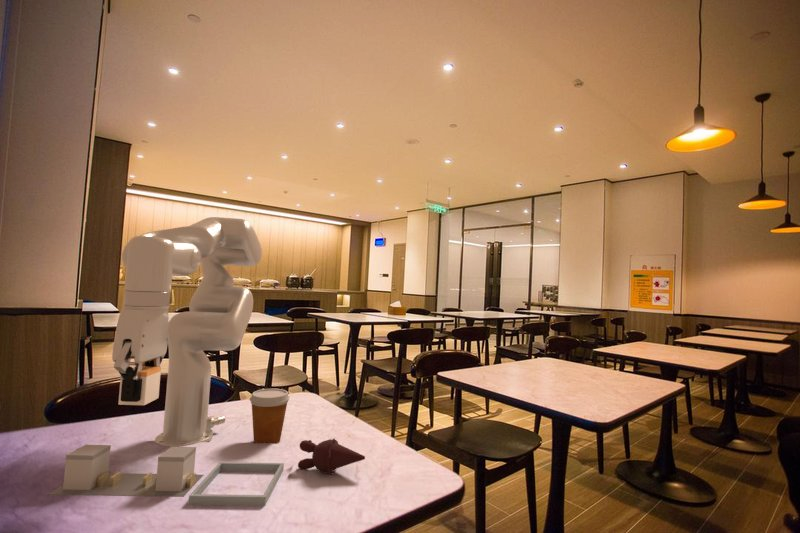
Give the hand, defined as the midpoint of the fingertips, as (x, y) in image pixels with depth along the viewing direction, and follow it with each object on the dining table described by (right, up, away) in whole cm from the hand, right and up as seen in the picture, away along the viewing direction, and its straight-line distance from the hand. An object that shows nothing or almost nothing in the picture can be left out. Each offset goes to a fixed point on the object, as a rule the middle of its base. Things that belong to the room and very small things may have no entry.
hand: (139, 395), depth 72 cm
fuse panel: (-1, -17, -1) cm, 17 cm away
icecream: (+35, -20, +9) cm, 41 cm away
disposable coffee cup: (+16, -20, +23) cm, 34 cm away
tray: (+19, -18, 0) cm, 26 cm away
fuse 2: (+7, -16, -1) cm, 18 cm away
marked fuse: (0, -1, 0) cm, 1 cm away
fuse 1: (-9, -16, -2) cm, 18 cm away
